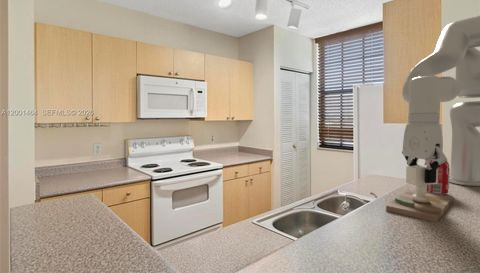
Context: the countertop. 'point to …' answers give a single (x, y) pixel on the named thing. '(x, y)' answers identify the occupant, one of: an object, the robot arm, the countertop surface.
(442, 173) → the soda can
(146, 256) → the countertop surface
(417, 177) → the knob
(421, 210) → the dial board
